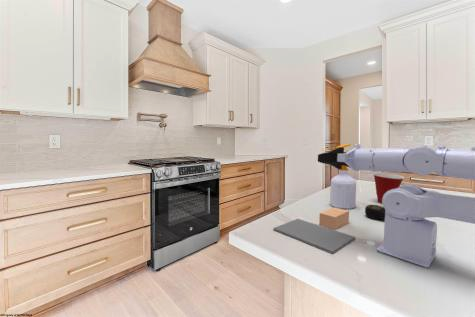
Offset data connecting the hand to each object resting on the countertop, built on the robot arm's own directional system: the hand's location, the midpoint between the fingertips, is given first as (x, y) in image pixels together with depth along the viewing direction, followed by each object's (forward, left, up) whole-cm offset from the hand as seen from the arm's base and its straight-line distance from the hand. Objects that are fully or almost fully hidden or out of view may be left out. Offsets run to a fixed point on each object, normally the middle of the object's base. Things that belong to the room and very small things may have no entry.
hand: (325, 158), depth 66 cm
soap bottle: (+6, -26, -21) cm, 34 cm away
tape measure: (-8, -22, -21) cm, 31 cm away
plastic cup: (-4, -44, -21) cm, 48 cm away
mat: (-1, +7, -21) cm, 22 cm away
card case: (-1, -5, -21) cm, 22 cm away
